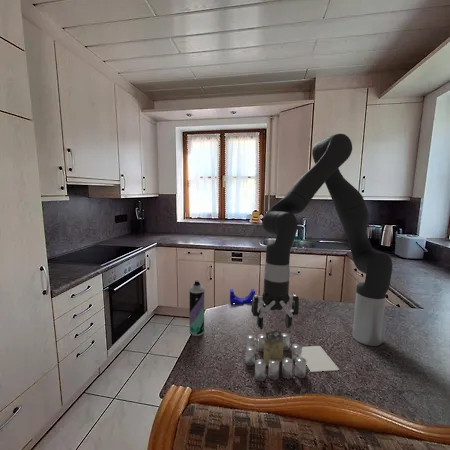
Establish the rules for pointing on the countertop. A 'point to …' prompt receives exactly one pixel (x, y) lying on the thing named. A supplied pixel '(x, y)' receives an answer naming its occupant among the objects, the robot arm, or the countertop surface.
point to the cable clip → (241, 300)
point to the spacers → (274, 363)
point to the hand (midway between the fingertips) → (274, 327)
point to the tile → (317, 359)
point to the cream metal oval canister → (273, 346)
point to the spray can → (197, 309)
